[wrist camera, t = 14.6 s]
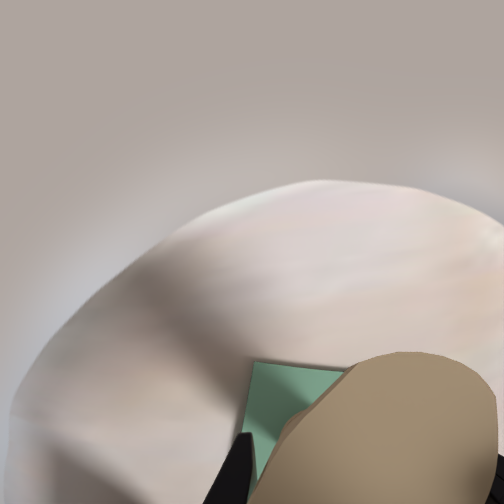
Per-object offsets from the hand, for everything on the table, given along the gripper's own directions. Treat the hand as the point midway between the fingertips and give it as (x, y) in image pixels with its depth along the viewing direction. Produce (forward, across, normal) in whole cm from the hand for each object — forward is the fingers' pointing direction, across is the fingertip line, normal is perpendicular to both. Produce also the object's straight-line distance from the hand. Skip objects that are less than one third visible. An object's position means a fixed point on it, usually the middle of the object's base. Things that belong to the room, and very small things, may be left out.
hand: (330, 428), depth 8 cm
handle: (+6, -1, +9) cm, 11 cm away
